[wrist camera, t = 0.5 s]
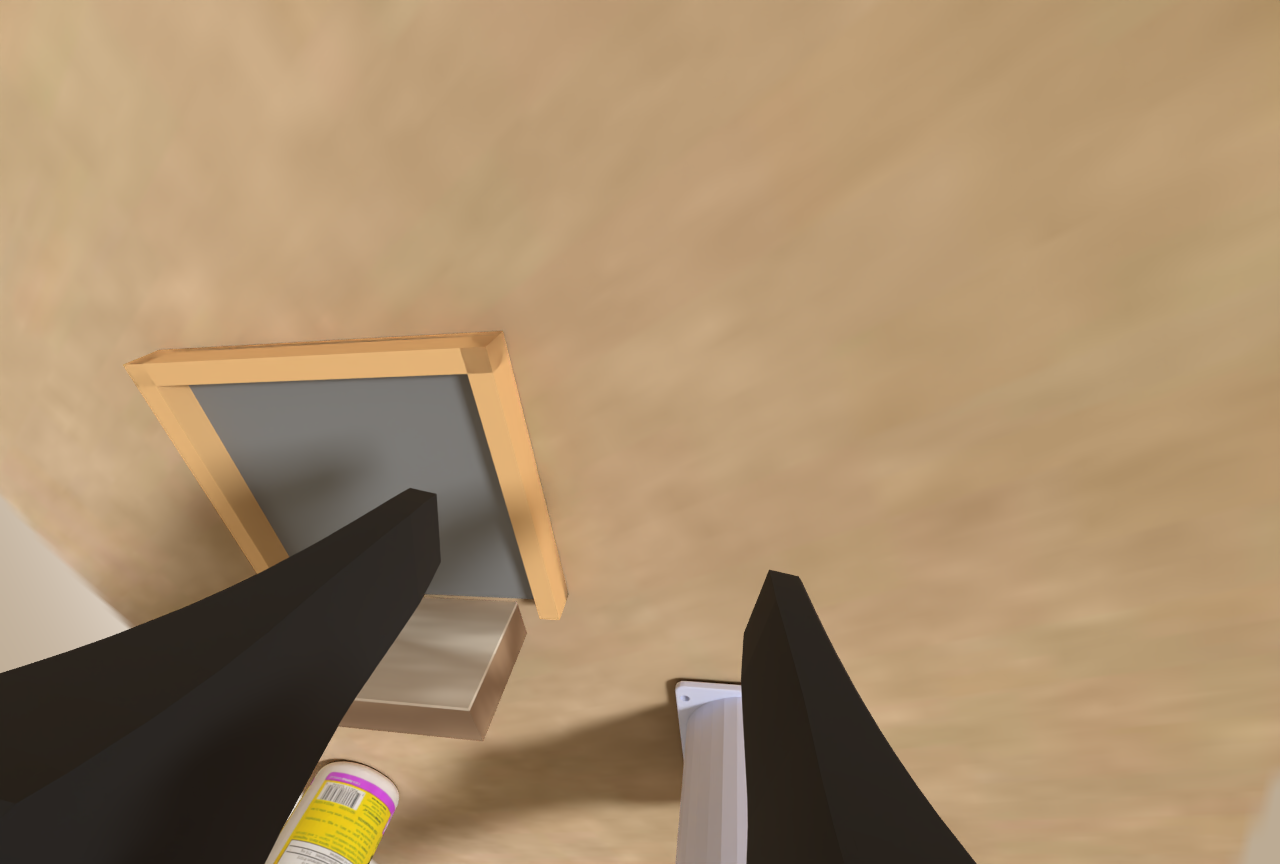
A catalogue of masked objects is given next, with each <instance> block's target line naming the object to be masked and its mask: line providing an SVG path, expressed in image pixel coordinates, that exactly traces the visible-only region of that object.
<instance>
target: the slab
mask: <svg viewBox="0 0 1280 864" xmlns="http://www.w3.org/2000/svg"><path fill="white" fill-rule="evenodd" d="M526 634H527V632H526V629H525V626H524V623H523V620H522V616H521V613H520V610H519V607H518V604H517V601H497V600H476V599H455V598H434V597H423V598H422V600H421V602H420V604H419V605H418V607H417V609H416V610H415V612H414V613H413V615H412V616H411V618H410V619H409V621H408V622H407V623H406V625H405V626H404V628H403V629H402V631H401V632H400V634H399V635H398V637H397V638H396V640H395V641H394V643H393V644H392V646H391V647H390V648H389V650H388V651H387V653H386V654H385V656H384V657H383V659H382V660H381V662H380V663H379V665H378V666H377V667H376V669H375V670H374V672H373V673H372V675H371V676H370V678H369V679H368V681H367V682H366V683H365V685H364V686H363V688H362V689H361V691H360V692H359V694H358V695H357V697H356V698H355V700H354V701H353V703H352V704H351V706H350V708H349V709H348V711H347V712H346V714H345V715H344V717H343V719H342V720H341V722H340V724H339V725H338V726H339V727H349V728H359V729H368V730H378V731H388V732H398V733H407V734H417V735H427V736H437V737H446V738H456V739H466V740H475V741H484V738H485V736H486V733H487V731H488V728H489V726H490V723H491V721H492V718H493V716H494V713H495V711H496V708H497V706H498V704H499V701H500V699H501V696H502V694H503V691H504V689H505V686H506V684H507V681H508V679H509V676H510V674H511V671H512V669H513V667H514V664H515V662H516V659H517V657H518V654H519V652H520V649H521V647H522V644H523V642H524V639H525V637H526Z"/></svg>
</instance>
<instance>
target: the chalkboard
mask: <svg viewBox="0 0 1280 864" xmlns="http://www.w3.org/2000/svg"><path fill="white" fill-rule="evenodd" d="M123 366H124V367H125V369H126V371H127V372H128V374H129V375H130V377H131V378H132V380H133V381H134V383H135V385H136V386H137V388H138V389H139V391H140V392H141V394H142V396H143V397H144V399H145V400H146V402H147V403H148V405H149V406H150V408H151V410H152V411H153V413H154V414H155V416H156V417H157V419H158V420H159V422H160V424H161V425H162V427H163V428H164V430H165V431H166V433H167V434H168V436H169V438H170V439H171V441H172V442H173V444H174V445H175V447H176V448H177V450H178V452H179V453H180V455H181V456H182V458H183V459H184V461H185V462H186V464H187V466H188V467H189V469H190V470H191V472H192V473H193V475H194V477H195V478H196V480H197V481H198V483H199V484H200V486H201V487H202V489H203V491H204V492H205V494H206V495H207V497H208V498H209V500H210V501H211V503H212V505H213V506H214V508H215V509H216V511H217V512H218V514H219V515H220V517H221V519H222V520H223V522H224V523H225V525H226V526H227V528H228V529H229V531H230V533H231V534H232V536H233V537H234V539H235V540H236V542H237V544H238V545H239V547H240V548H241V550H242V551H243V553H244V554H245V556H246V558H247V559H248V561H249V562H250V564H251V565H252V567H253V568H254V570H255V572H256V573H257V574H258V573H260V572H262V571H264V570H266V569H268V568H270V567H272V566H274V565H275V564H277V563H279V562H281V561H283V560H285V559H287V558H289V557H291V556H292V555H294V554H296V553H298V552H300V551H302V550H304V549H306V548H308V547H309V546H311V545H313V544H315V543H317V542H318V541H320V540H322V539H324V538H325V537H327V536H329V535H331V534H332V533H334V532H336V531H337V530H339V529H341V528H343V527H344V526H346V525H348V524H349V523H351V522H353V521H355V520H356V519H358V518H360V517H361V516H363V515H365V514H366V513H368V512H370V511H371V510H373V509H375V508H376V507H378V506H380V505H381V504H383V503H385V502H386V501H388V500H390V499H391V498H393V497H395V496H396V495H398V494H400V493H401V492H403V491H405V490H407V489H409V488H413V489H418V490H422V491H426V492H431V493H435V494H437V506H438V522H439V538H440V554H441V563H440V565H439V567H438V569H437V571H436V573H435V575H434V577H433V579H432V581H431V583H430V585H429V587H428V589H427V591H426V593H425V594H435V595H457V596H478V597H499V598H521V599H534V601H535V604H536V608H537V611H538V614H539V618H540V619H551V620H560V617H561V614H562V611H563V609H564V606H565V603H566V600H567V597H568V591H567V587H566V583H565V579H564V575H563V571H562V567H561V563H560V559H559V555H558V551H557V547H556V542H555V538H554V534H553V530H552V526H551V522H550V518H549V514H548V510H547V506H546V502H545V498H544V494H543V490H542V486H541V482H540V478H539V474H538V470H537V466H536V462H535V458H534V454H533V450H532V446H531V442H530V438H529V434H528V430H527V426H526V422H525V418H524V414H523V410H522V406H521V402H520V398H519V394H518V390H517V386H516V382H515V378H514V374H513V370H512V366H511V362H510V358H509V354H508V350H507V346H506V342H505V338H504V334H503V331H493V332H475V333H457V334H439V335H421V336H403V337H385V338H367V339H349V340H331V341H313V342H295V343H277V344H259V345H241V346H223V347H205V348H187V349H169V350H158V351H155V352H153V353H151V354H148V355H146V356H143V357H141V358H138V359H136V360H133V361H131V362H129V363H126V364H124V365H123Z"/></svg>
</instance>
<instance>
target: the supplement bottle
mask: <svg viewBox="0 0 1280 864" xmlns="http://www.w3.org/2000/svg"><path fill="white" fill-rule="evenodd" d="M398 802H399V793H398V790H397V788H396V786H395V785H394V783H393V782H392V781H391V780H390V779H388V778H387V777H385V776H384V775H383V774H381V773H380V772H378V771H376V770H374V769H372V768H370V767H368V766H365V765H362V764H359V763H354V762H346V761H342V762H333V763H330V764H327V765H325V766H324V767H322V768H321V769H320V770H319V772H318V773H317V775H316V776H315V778H314V779H313V781H312V782H311V784H310V785H309V787H308V788H307V790H306V792H305V793H304V795H303V796H302V798H301V800H300V801H299V803H298V805H297V806H296V808H295V809H294V811H293V812H292V814H291V816H290V817H289V819H288V820H287V822H286V824H285V825H284V827H283V829H282V831H281V833H280V835H279V837H278V839H277V840H276V842H275V844H274V846H273V848H272V850H271V852H270V854H269V856H268V858H267V860H266V862H265V864H369V863H370V861H371V859H372V857H373V855H374V853H375V851H376V849H377V847H378V845H379V842H380V841H381V838H382V836H383V834H384V832H385V830H386V828H387V826H388V824H389V822H390V820H391V818H392V816H393V814H394V811H395V809H396V807H397V805H398Z"/></svg>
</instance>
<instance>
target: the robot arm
mask: <svg viewBox="0 0 1280 864" xmlns="http://www.w3.org/2000/svg"><path fill="white" fill-rule="evenodd" d="M440 563H441V554H440V538H439V522H438V506H437V494H435V493H431V492H426V491H422V490H418V489H413V488H409V489H407V490H405V491H403V492H401V493H400V494H398V495H396V496H395V497H393V498H391V499H390V500H388V501H386V502H385V503H383V504H381V505H380V506H378V507H376V508H375V509H373V510H371V511H370V512H368V513H366V514H365V515H363V516H361V517H360V518H358V519H356V520H355V521H353V522H351V523H349V524H348V525H346V526H344V527H343V528H341V529H339V530H337V531H336V532H334V533H332V534H331V535H329V536H327V537H325V538H324V539H322V540H320V541H318V542H317V543H315V544H313V545H311V546H309V547H308V548H306V549H304V550H302V551H300V552H298V553H296V554H294V555H292V556H291V557H289V558H287V559H285V560H283V561H281V562H279V563H277V564H275V565H274V566H272V567H270V568H268V569H266V570H264V571H262V572H260V573H258V574H256V575H254V576H252V577H250V578H248V579H246V580H244V581H242V582H240V583H238V584H236V585H234V586H232V587H229V588H227V589H225V590H223V591H221V592H218V593H216V594H214V595H212V596H209V597H207V598H205V599H203V600H200V601H198V602H196V603H194V604H191V605H189V606H187V607H184V608H182V609H180V610H177V611H174V612H172V613H169V614H167V615H164V616H162V617H159V618H157V619H154V620H151V621H149V622H146V623H144V624H141V625H139V626H136V627H134V628H131V629H129V630H126V631H123V632H121V633H119V634H116V635H113V636H110V637H108V638H105V639H102V640H99V641H96V642H94V643H91V644H88V645H85V646H82V647H79V648H76V649H74V650H71V651H68V652H65V653H62V654H59V655H56V656H53V657H50V658H47V659H44V660H40V661H37V662H34V663H31V664H28V665H25V666H22V667H19V668H16V669H12V670H9V671H6V672H3V673H0V864H265V862H266V860H267V858H268V856H269V854H270V852H271V850H272V848H273V846H274V844H275V842H276V840H277V839H278V837H279V835H280V833H281V831H282V829H283V827H284V825H285V823H286V821H287V819H288V817H289V815H290V813H291V811H292V809H293V808H294V806H295V804H296V802H297V800H298V798H299V796H300V795H301V793H302V791H303V789H304V787H305V785H306V783H307V781H308V779H309V778H310V776H311V774H312V772H313V770H314V768H315V767H316V765H317V763H318V761H319V759H320V758H321V756H322V754H323V752H324V750H325V749H326V747H327V745H328V743H329V742H330V740H331V738H332V736H333V734H334V733H335V731H336V729H337V727H338V725H339V724H340V722H341V720H342V719H343V717H344V715H345V714H346V712H347V711H348V709H349V708H350V706H351V704H352V703H353V701H354V700H355V698H356V697H357V695H358V694H359V692H360V691H361V689H362V688H363V686H364V685H365V683H366V682H367V681H368V679H369V678H370V676H371V675H372V673H373V672H374V670H375V669H376V667H377V666H378V665H379V663H380V662H381V660H382V659H383V657H384V656H385V654H386V653H387V651H388V650H389V648H390V647H391V646H392V644H393V643H394V641H395V640H396V638H397V637H398V635H399V634H400V632H401V631H402V629H403V628H404V626H405V625H406V623H407V622H408V621H409V619H410V618H411V616H412V615H413V613H414V612H415V610H416V609H417V607H418V605H419V604H420V602H421V600H422V598H423V596H424V595H425V593H426V591H427V589H428V587H429V585H430V583H431V581H432V579H433V577H434V575H435V573H436V571H437V569H438V567H439V565H440ZM675 694H676V703H677V711H678V719H679V727H680V735H681V743H682V751H683V759H684V767H683V779H682V791H681V803H680V815H679V827H678V840H677V852H676V864H976V863H975V861H974V860H973V859H972V857H971V856H970V855H969V854H968V852H967V851H966V850H965V848H964V847H963V846H962V845H961V843H960V842H959V841H958V840H957V838H956V837H955V836H954V834H953V833H952V832H951V831H950V829H949V828H948V827H947V826H946V824H945V823H944V822H943V820H942V819H941V818H940V817H939V815H938V814H937V813H936V811H935V810H934V808H933V807H932V806H931V804H930V803H929V802H928V800H927V799H926V797H925V796H924V795H923V793H922V792H921V790H920V789H919V788H918V786H917V785H916V783H915V782H914V780H913V779H912V778H911V776H910V775H909V773H908V772H907V770H906V769H905V767H904V766H903V764H902V763H901V761H900V760H899V759H898V757H897V755H896V754H895V752H894V751H893V749H892V748H891V746H890V745H889V743H888V742H887V740H886V738H885V737H884V735H883V734H882V732H881V730H880V729H879V727H878V726H877V724H876V722H875V721H874V719H873V717H872V716H871V714H870V712H869V711H868V709H867V707H866V706H865V704H864V702H863V701H862V699H861V697H860V695H859V694H858V692H857V690H856V688H855V687H854V685H853V683H852V681H851V679H850V677H849V676H848V674H847V672H846V670H845V668H844V666H843V664H842V663H841V661H840V659H839V657H838V655H837V653H836V651H835V650H834V648H833V646H832V644H831V642H830V640H829V638H828V636H827V634H826V632H825V630H824V628H823V626H822V624H821V621H820V619H819V617H818V615H817V613H816V611H815V609H814V607H813V605H812V603H811V600H810V598H809V596H808V594H807V592H806V590H805V587H804V585H803V583H802V581H801V580H800V578H799V576H794V575H790V574H786V573H781V572H777V571H772V570H769V572H768V574H767V577H766V579H765V582H764V584H763V587H762V589H761V592H760V594H759V597H758V599H757V602H756V604H755V607H754V609H753V612H752V614H751V617H750V619H749V622H748V624H747V627H746V629H745V632H744V639H743V654H742V672H741V685H734V684H720V683H706V682H693V681H680V682H678V683H677V684H676V688H675Z"/></svg>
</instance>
